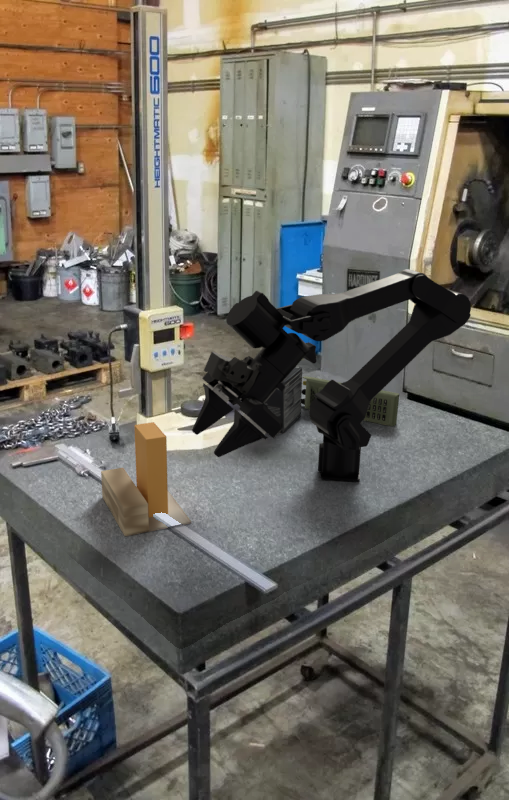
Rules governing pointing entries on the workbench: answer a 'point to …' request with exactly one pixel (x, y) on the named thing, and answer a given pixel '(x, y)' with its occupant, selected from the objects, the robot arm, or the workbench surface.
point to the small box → (287, 399)
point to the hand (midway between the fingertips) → (204, 443)
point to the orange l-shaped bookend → (152, 466)
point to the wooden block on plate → (134, 504)
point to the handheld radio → (379, 408)
